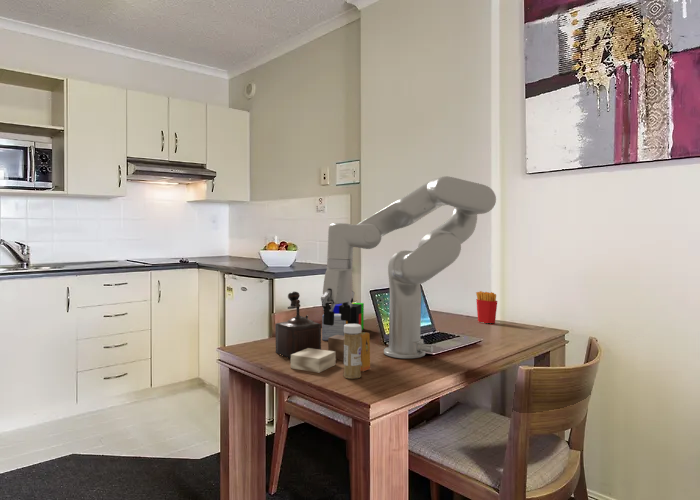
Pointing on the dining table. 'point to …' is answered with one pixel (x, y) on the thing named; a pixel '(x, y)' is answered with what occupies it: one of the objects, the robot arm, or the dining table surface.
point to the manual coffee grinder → (297, 332)
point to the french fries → (486, 307)
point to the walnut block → (337, 346)
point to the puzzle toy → (353, 313)
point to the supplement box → (365, 351)
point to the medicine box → (333, 327)
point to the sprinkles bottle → (352, 351)
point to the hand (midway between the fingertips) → (337, 322)
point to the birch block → (313, 360)
